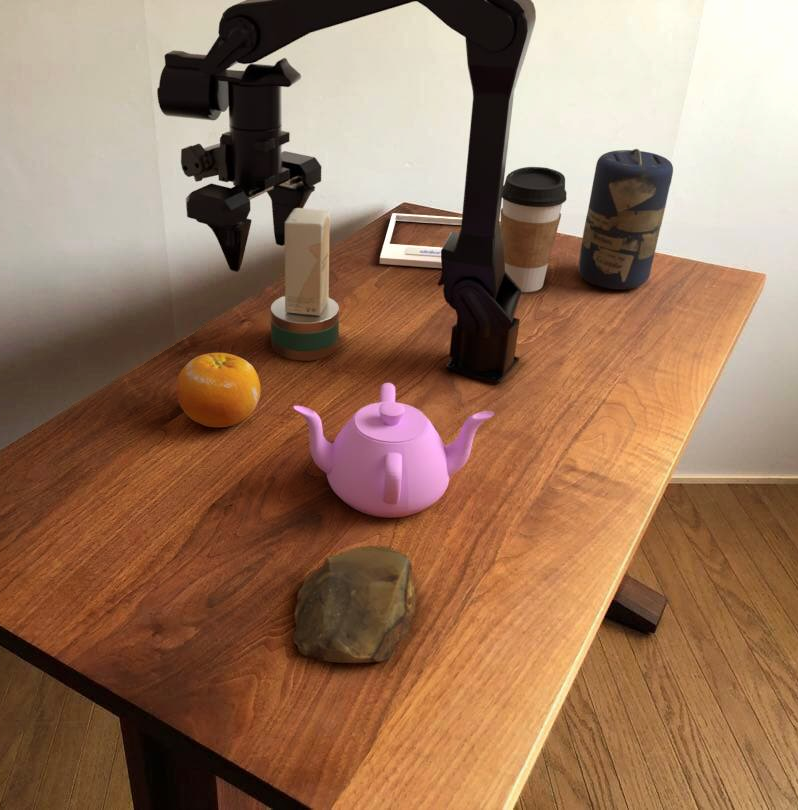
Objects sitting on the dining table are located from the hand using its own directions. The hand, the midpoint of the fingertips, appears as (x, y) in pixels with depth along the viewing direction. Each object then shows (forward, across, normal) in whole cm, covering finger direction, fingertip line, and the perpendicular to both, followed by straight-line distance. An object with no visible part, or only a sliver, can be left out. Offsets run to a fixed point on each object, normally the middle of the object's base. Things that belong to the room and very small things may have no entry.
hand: (258, 257), depth 108 cm
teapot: (+10, +19, +29) cm, 36 cm away
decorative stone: (+10, +35, +34) cm, 50 cm away
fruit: (+10, +18, +8) cm, 22 cm away
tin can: (+10, 0, +7) cm, 12 cm away
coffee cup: (+10, -31, +22) cm, 39 cm away
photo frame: (+10, -37, +6) cm, 39 cm away
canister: (+10, -39, +32) cm, 51 cm away
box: (+5, -1, +6) cm, 8 cm away
